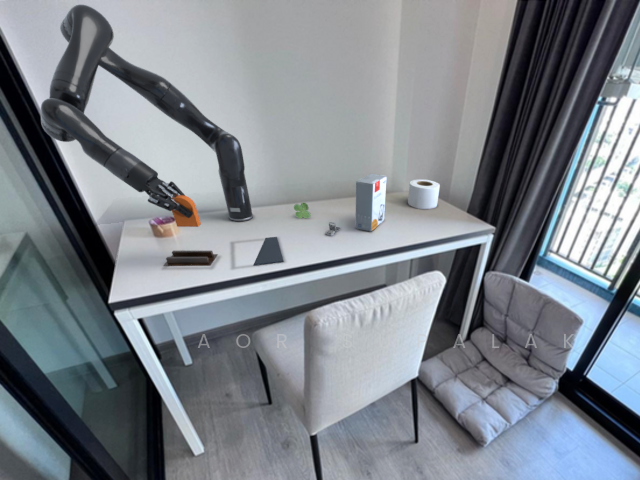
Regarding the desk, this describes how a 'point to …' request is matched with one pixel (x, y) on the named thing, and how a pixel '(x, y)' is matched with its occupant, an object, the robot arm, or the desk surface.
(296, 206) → the green clover
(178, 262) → the holder
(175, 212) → the orange curved block
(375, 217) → the hard drive box
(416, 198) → the white paper roll
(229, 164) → the robot arm
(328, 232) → the strap clip
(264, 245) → the felt mat
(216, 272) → the desk surface
